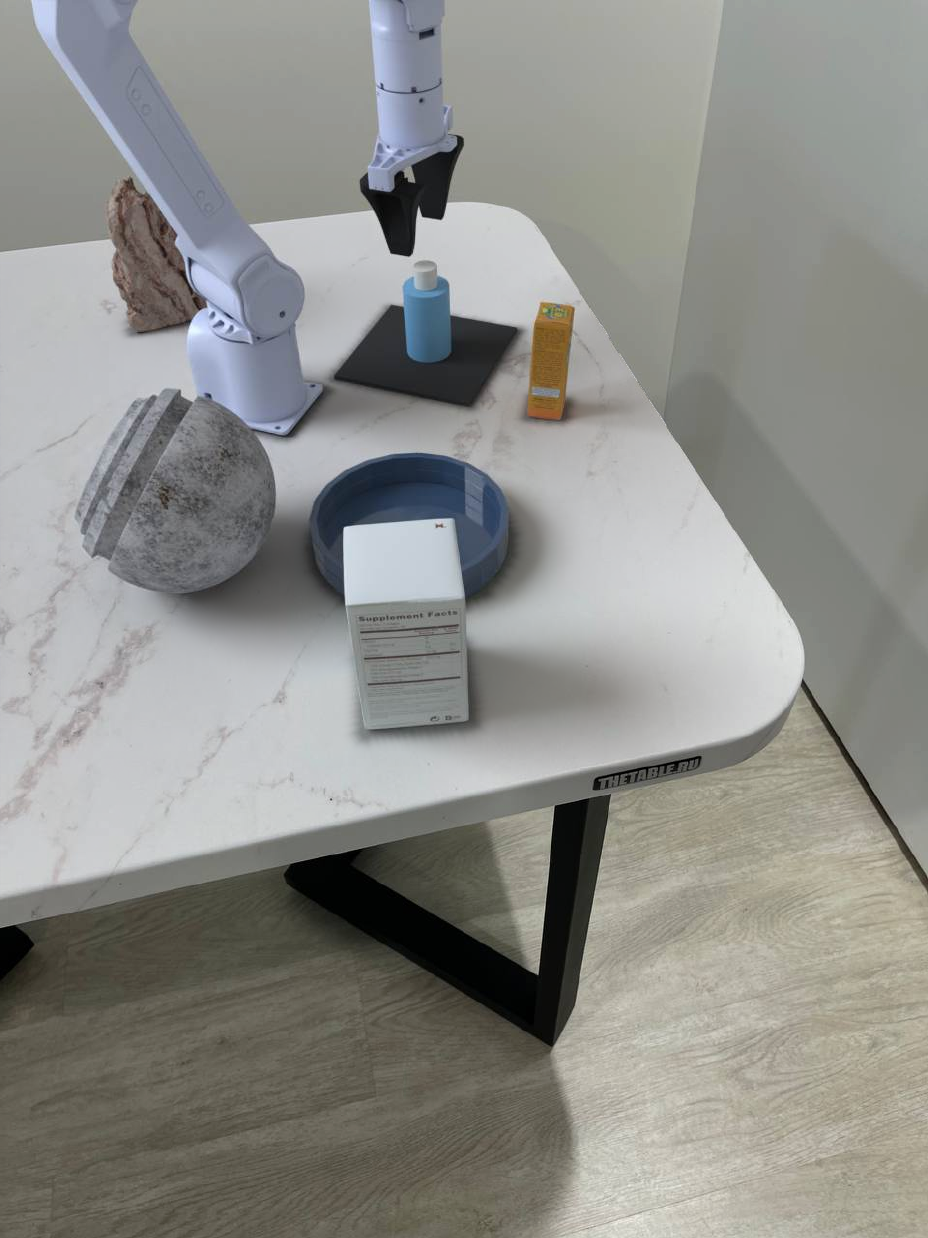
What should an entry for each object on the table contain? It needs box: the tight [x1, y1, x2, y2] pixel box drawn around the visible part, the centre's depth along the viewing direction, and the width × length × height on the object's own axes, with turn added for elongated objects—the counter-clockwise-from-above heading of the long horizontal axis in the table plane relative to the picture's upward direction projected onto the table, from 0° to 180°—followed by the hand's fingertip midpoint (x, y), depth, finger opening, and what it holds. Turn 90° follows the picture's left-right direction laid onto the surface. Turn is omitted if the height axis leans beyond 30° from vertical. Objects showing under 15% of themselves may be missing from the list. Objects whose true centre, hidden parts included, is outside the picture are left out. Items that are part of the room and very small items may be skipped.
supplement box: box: [526, 301, 576, 421], centre depth 90 cm, size 3×3×10 cm
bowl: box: [308, 451, 510, 599], centre depth 81 cm, size 16×16×3 cm
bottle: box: [402, 259, 451, 363], centre depth 97 cm, size 4×4×9 cm
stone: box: [104, 176, 208, 333], centre depth 102 cm, size 15×8×10 cm
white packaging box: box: [343, 518, 470, 730], centre depth 67 cm, size 7×7×13 cm
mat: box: [333, 304, 518, 407], centre depth 101 cm, size 14×14×1 cm
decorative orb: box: [73, 387, 277, 594], centre depth 75 cm, size 15×14×15 cm
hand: (417, 234), depth 96 cm, fingers open, 7 cm apart
